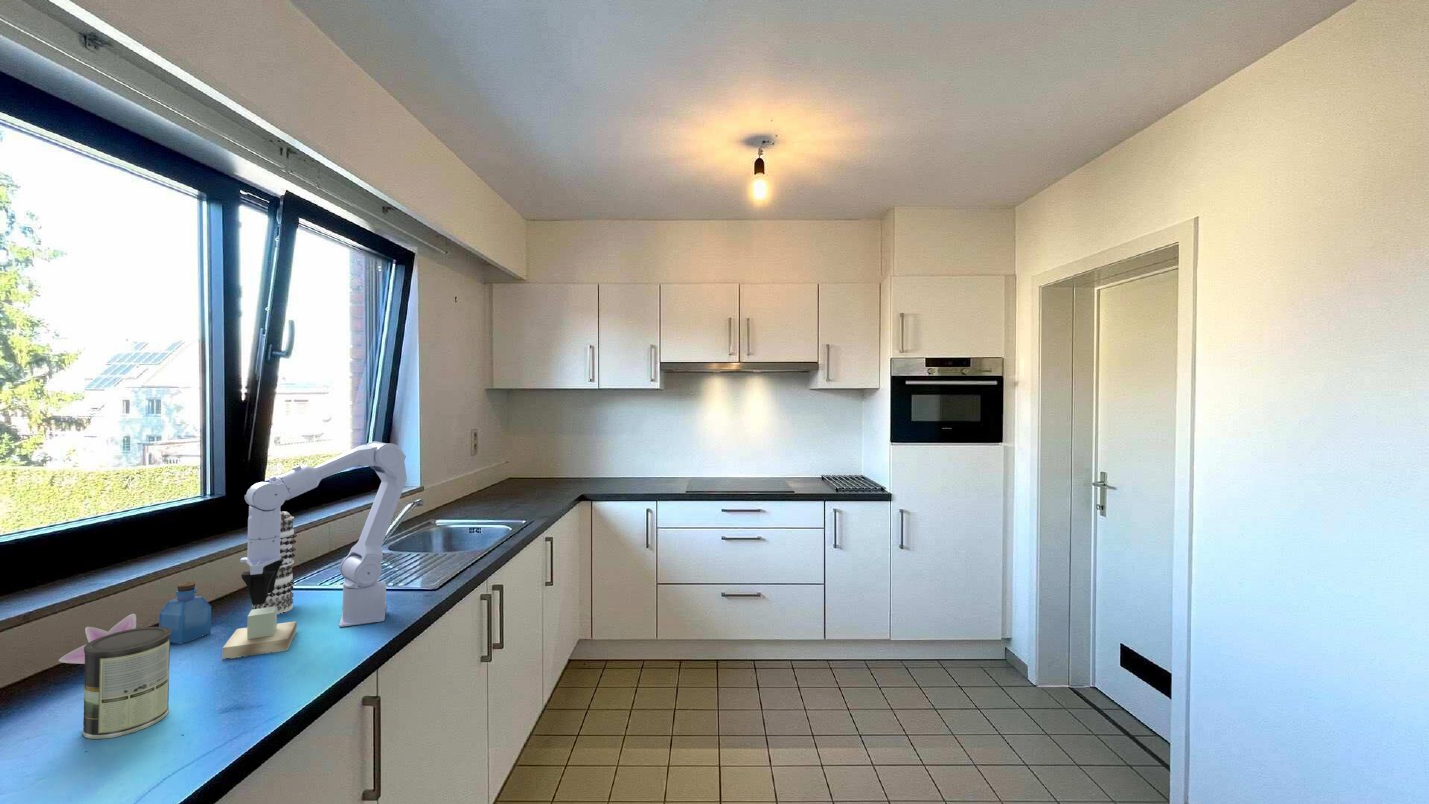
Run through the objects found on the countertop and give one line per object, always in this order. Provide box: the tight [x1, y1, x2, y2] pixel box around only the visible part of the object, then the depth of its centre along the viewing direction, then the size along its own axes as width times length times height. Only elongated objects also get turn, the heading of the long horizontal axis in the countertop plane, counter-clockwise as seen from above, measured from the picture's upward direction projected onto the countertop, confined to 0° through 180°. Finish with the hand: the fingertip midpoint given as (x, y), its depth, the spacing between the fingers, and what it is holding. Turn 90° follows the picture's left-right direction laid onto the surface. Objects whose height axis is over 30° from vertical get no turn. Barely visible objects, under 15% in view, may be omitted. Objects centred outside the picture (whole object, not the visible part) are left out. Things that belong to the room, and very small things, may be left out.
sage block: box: [246, 606, 278, 639], centre depth 128 cm, size 4×4×5 cm
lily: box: [58, 613, 137, 665], centre depth 114 cm, size 12×12×10 cm
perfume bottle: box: [158, 581, 212, 645], centre depth 131 cm, size 6×6×12 cm
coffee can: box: [82, 626, 171, 740], centre depth 97 cm, size 10×10×14 cm
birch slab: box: [222, 621, 298, 660], centre depth 128 cm, size 11×11×3 cm
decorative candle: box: [251, 510, 298, 615], centre depth 148 cm, size 9×9×25 cm
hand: (262, 598), depth 128 cm, fingers open, 7 cm apart
